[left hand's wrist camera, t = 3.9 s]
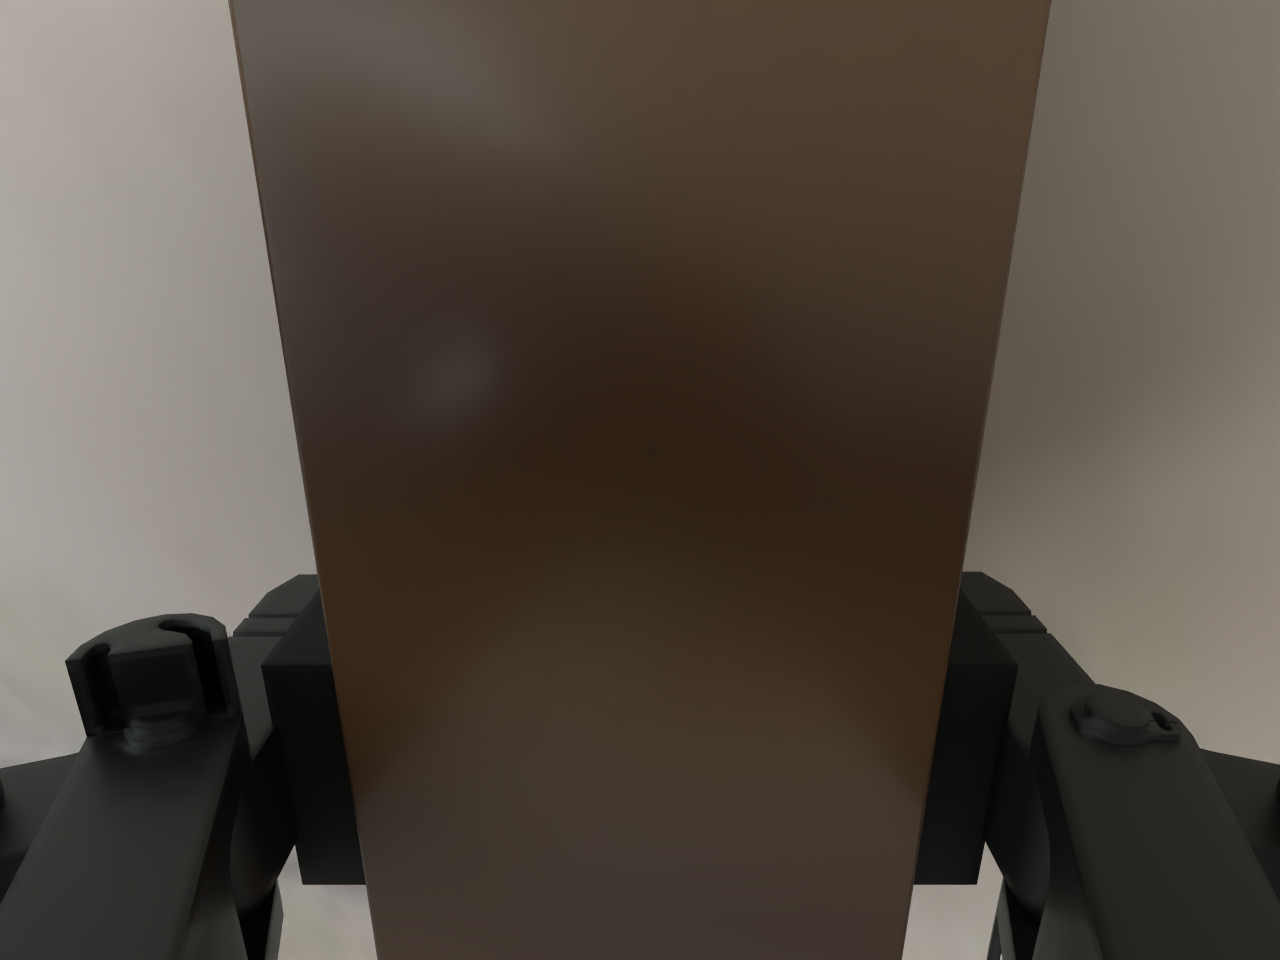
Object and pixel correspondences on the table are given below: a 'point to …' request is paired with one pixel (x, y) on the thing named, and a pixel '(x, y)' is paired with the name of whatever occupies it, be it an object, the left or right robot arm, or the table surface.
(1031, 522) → the table surface
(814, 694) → the bar
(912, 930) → the table surface
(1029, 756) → the left robot arm
